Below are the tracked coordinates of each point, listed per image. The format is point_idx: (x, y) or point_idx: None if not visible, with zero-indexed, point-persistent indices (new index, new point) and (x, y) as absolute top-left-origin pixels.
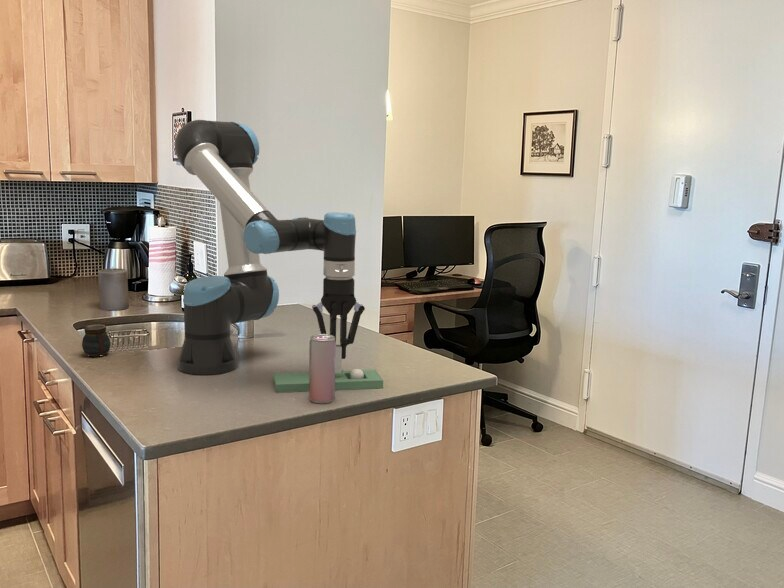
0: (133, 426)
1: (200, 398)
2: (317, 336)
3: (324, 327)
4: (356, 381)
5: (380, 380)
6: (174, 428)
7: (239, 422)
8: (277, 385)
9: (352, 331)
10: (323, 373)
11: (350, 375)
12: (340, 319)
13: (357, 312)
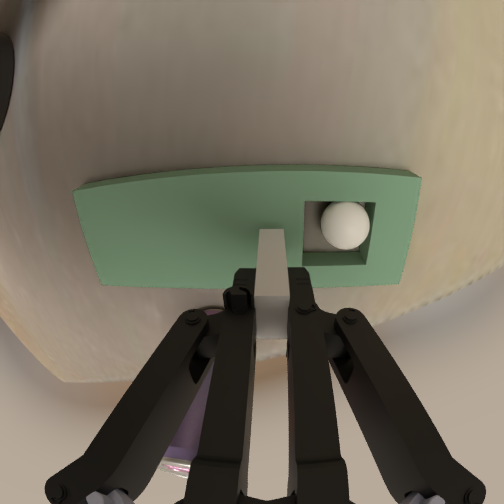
0: (25, 343)
1: (21, 279)
2: (171, 465)
3: (175, 426)
4: (323, 286)
5: (392, 283)
6: (56, 361)
7: (107, 370)
8: (105, 284)
9: (354, 403)
10: None
11: (321, 227)
12: (294, 451)
13: (401, 500)
